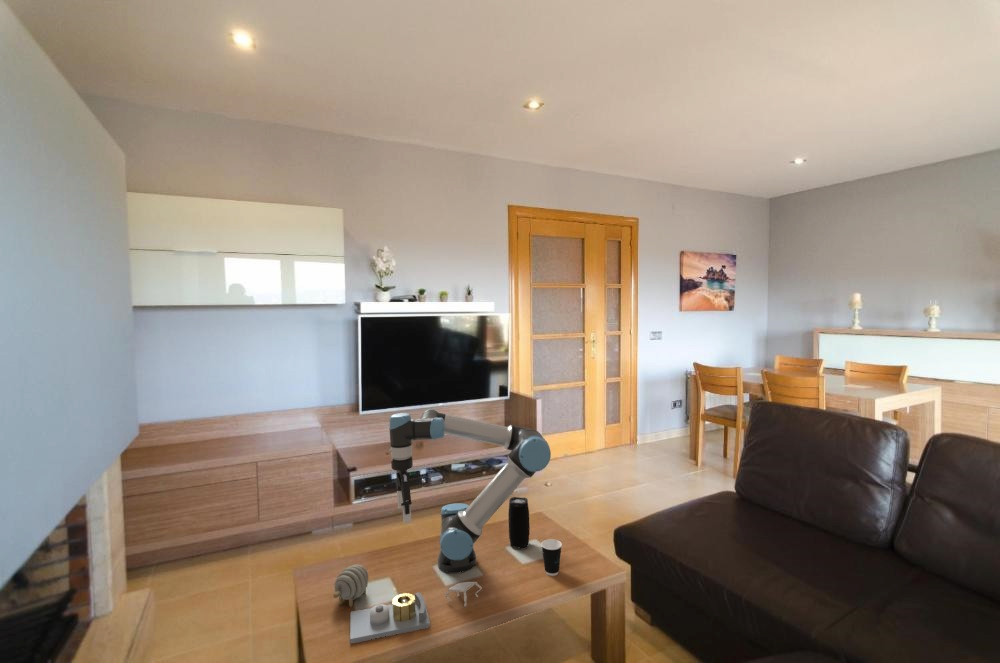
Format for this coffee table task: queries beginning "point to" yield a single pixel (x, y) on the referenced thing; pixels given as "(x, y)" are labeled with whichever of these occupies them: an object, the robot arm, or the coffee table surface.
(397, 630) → the carrier plate
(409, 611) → the gold octagonal ring
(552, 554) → the dixie cup
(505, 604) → the coffee table surface
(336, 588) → the toy sheep
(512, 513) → the portable speaker
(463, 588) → the origami figure
